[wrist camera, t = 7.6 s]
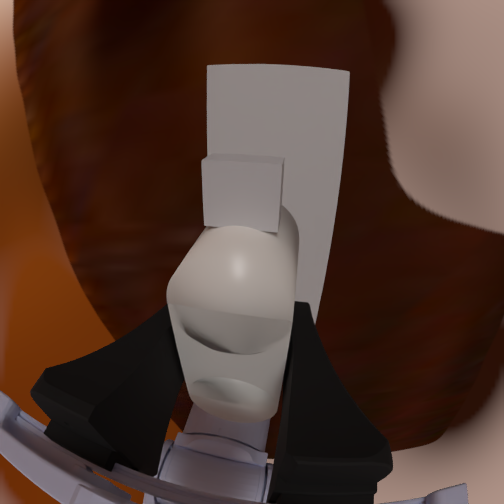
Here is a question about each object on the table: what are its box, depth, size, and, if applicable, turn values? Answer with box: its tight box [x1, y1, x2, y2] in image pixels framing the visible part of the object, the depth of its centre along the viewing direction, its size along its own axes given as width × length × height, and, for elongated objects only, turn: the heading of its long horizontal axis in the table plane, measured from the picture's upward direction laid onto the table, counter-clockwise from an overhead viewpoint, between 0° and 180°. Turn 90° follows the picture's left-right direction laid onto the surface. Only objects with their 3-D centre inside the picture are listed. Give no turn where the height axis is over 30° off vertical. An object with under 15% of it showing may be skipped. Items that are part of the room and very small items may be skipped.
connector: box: [167, 153, 299, 423], centre depth 11 cm, size 10×4×4 cm, turn 178°
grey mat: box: [207, 64, 350, 323], centre depth 19 cm, size 20×8×1 cm, turn 179°
